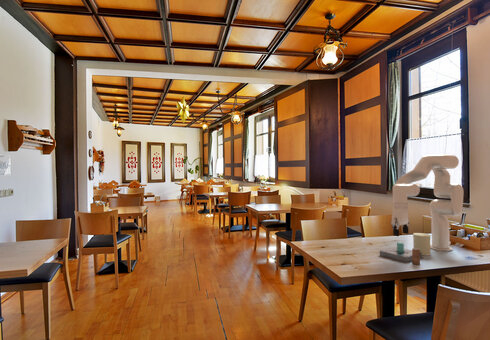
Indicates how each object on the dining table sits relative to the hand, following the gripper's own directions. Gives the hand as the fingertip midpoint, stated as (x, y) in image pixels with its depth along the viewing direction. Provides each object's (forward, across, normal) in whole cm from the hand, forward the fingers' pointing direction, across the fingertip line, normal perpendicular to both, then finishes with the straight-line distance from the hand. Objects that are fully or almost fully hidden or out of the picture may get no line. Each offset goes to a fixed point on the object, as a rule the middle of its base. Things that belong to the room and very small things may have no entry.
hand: (400, 234), depth 170 cm
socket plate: (+13, +1, 0) cm, 13 cm away
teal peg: (+13, +1, 0) cm, 13 cm away
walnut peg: (+13, +7, +12) cm, 19 cm away
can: (+14, -17, +3) cm, 22 cm away
